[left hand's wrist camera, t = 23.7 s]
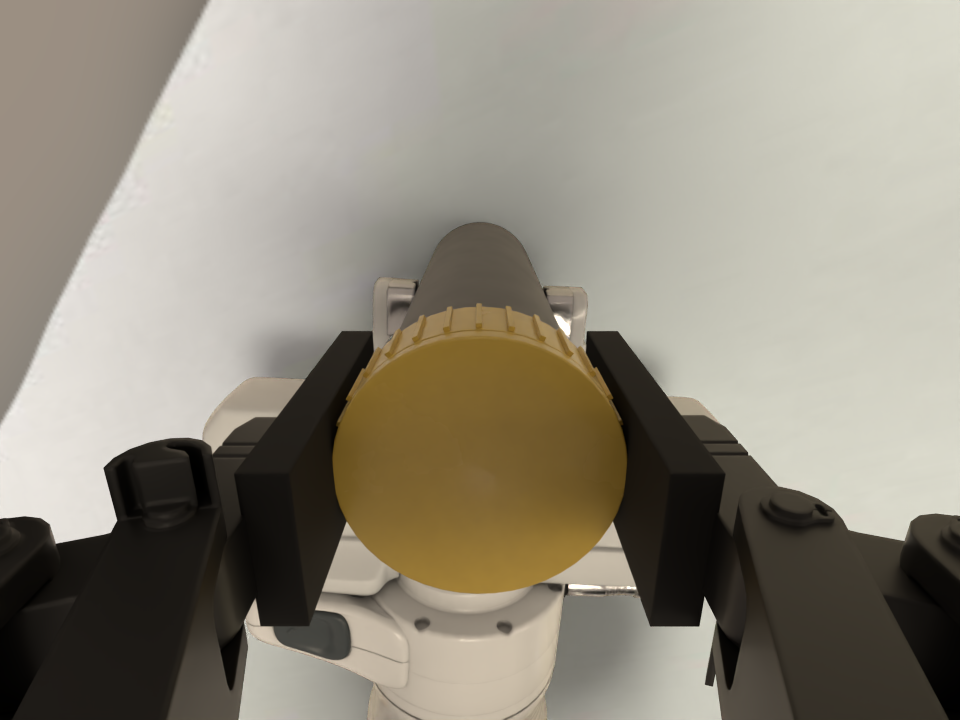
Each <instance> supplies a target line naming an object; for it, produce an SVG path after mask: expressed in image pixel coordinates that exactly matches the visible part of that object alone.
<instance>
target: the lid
mask: <svg viewBox="0 0 960 720" xmlns="http://www.w3.org/2000/svg"><path fill="white" fill-rule="evenodd" d="M611 399H613V397H612V395H611V393H610V391H609V389H608V387H607V385H606V384H605V382H604V380H603V378H602V376H601V374H600V372H599V371H598V369H597V367H595V368H593V366H592V364H591V362H590V360H589V358H588V356H587V354H586V353H585V351H584V349H583V348H582V347H581V346H579V347H578V348H577V347H576V346H575V345H574V344H573V343H572V342H571V341H570V340H569V339H568V338H567V337H566V335H565V333H564V331H563V330H562V329H561V328H559V329H558V330H556V329H554V328H553V327H551V326H550V325H548V324H546V323H544V322H542V321H540V318H539V316H538V315H536V314H534V315H533V317H531V316H528V315H525V314H523V313H520V312H516V311H512V309H511V307H510V306H506V307H505V309H502V308H493V307H482V303H477V304H476V307H464V308H458V309H453V307H452V306H450V307H447V310H446V311H444V312H440V313H437V314H434V315H431V316H428V317H425V315H422V316H420V317H419V319H418V321H417V322H415V323H413V324H412V325H410V326H409V327H407V328H406V329H404V330H402V331H401V330H400V329H397V330H396V331H395V333H394V335H393V337H392V339H391V340H390V341H389V342H387V343H386V345H385V346H384V347H383V348H382V349H381V348H379V347H377V349H376V350H375V351H374V353H373V355H372V357H371V359H370V361H369V363H368V365H367V367H366V369H363V368H362V370H361V372H360V374H359V376H358V378H357V379H356V381H355V383H354V385H353V387H352V389H351V391H350V392H349V394H348V396H347V398H346V400H347V401H348V402H347V404H346V406H345V408H344V409H343V411H342V413H341V415H340V417H339V419H338V421H337V424H336V426H337V427H338V429H337V433H336V436H335V439H334V446H333V452H332V462H333V473H334V483H335V492H336V496H337V499H338V503H339V506H340V508H341V510H342V512H343V515H344V517H345V519H346V521H347V523H348V524H349V526H350V527H351V529H352V530H353V532H354V533H355V535H356V536H357V537H358V539H359V540H360V541H361V542H362V543H363V544H364V546H365V547H366V548H367V549H368V550H369V551H370V552H371V553H373V554H374V555H375V556H376V557H377V558H378V559H379V560H380V561H382V562H383V563H385V564H386V565H387V566H389V567H390V568H392V569H393V570H395V571H397V572H398V573H400V574H402V575H404V576H406V577H408V578H410V579H412V580H415V581H417V582H419V583H422V584H424V585H427V586H431V587H434V588H438V589H441V590H447V591H452V592H458V593H471V594H489V593H500V592H507V591H514V590H518V589H522V588H526V587H529V586H532V585H535V584H538V583H540V582H543V581H546V580H548V579H550V578H552V577H554V576H556V575H558V574H560V573H562V572H563V571H565V570H566V569H568V568H569V567H571V566H572V565H574V564H575V563H577V562H578V561H579V560H580V559H581V558H583V557H584V556H585V555H586V554H587V553H589V552H590V550H591V549H592V548H593V547H594V546H595V545H596V544H597V543H598V542H599V541H600V540H601V538H602V537H603V536H604V534H605V533H606V531H607V530H608V529H609V527H610V526H611V524H612V522H613V520H614V518H615V516H616V514H617V512H618V510H619V507H620V504H621V502H622V499H623V496H624V488H625V480H626V469H627V446H626V441H625V438H624V434H623V430H622V427H621V425H623V422H622V419H621V417H620V415H619V413H618V411H617V409H616V408H615V406H614V404H613V402H612V400H611Z"/></svg>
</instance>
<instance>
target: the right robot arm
mask: <svg viewBox="0 0 960 720" xmlns="http://www.w3.org/2000/svg"><path fill="white" fill-rule="evenodd" d="M418 287H419V281H418V280H415V279H400V278H384V277H379V279H378V280H377V281H376V282H375V285H374V291H373V330H372V331H373V344H374V351H375V350H376V349H377V347H379V348H381V349H382V348H383V347H384V346H385V345H386V343H387V342H388V340H389V339H390V337H391V335H394V333H395V331H396V330H397V329H400V327H401V325H402V322H403V320H404V318H405V316H406V314H407V311H408V309H409V307H410V305H411V302H412V300H413V298H414V296H415V293H416V291H417V289H418ZM543 291H544V294H545V296H546V298H547V300H548V303H549V305H550V307H551V309H552V312H553V314H554V316H555V318H556V320H557V323H558V325H559V327H560V328H561V329H562V330H563V331H564V333H565V335H566V337H567V338H568V339H569V340H570V341H571V342H572V343H573V344H574V345H575V346H576V347H577V348H578V347H579V346H581V347H582V348H583V349H584V351H585V353H586V343H585V341H584V333H585V324H586V316H587V307H588V301H587V294H586V292H585V291H584V290H583V288H582V287H562V286H543ZM304 381H305V379H288V378H269V377H253V378H249V379H247V380H246V381H244V382H243V383H242V384H240V385H239V386H238V387H237V388H236V389H235V390H234V391H232V392H231V393H230V394H229V395H228V396H227V397H226V398H225V399H224V400H223V401H222V402H221V403H220V404H219V405H218V407H217V408H216V409H215V410H214V412H213V413H212V414H211V416H210V417H209V419H208V420H207V422H206V424H205V427H204V430H203V438H202V440H203V441H204V442H206V443H207V444H209V445H210V446H211V448H212V454H213V453H214V452H215V451H216V449H217V448H218V447H219V446H222V443H223V442H224V440H225V439H226V438H227V437H228V436H229V435H230V434H231V432H232V431H233V430H234V429H235V428H237V427H239V426H241V425H242V424H244V423H246V422H248V421H249V420H251V419H253V418H255V417H277V416H278V415H279V414H280V412H281V411H282V410H283V408H284V407H285V406H286V404H287V403H288V402H289V400H290V399H291V398H292V396H293V395H294V394H295V392H296V391H297V390H298V389H299V387H300V386H301V385H302V383H303V382H304ZM667 397H668V398H669V400H670V401H671V402H672V404H673V405H674V406H675V407H676V409H677V410H678V411H679V413H680V414H681V415H705V416H707V417H709V418H710V419H712V420H714V421H716V422H717V423H719V422H718V421H717V419H716V418H715V417H714V416H713V415H712V414H711V413H710V412H709V411H708V410H707V409H706V408H705V407H704V406H703V405H702V404H701V403H700V402H699V401H697V400H695V399H693V398H687V397H669V396H667ZM719 424H720V423H719ZM565 595H567V596H570V595H571V596H593V597H601V596H612V595H613V596H614V595H625V596H633V597H635V598H640V596H639V593H638V590H637V588H636V585H635V582H634V579H633V576H632V574H631V571H630V568H629V565H628V562H627V560H626V557H625V554H624V551H623V548H622V546H621V543H620V540H619V537H618V534H617V532H616V529H615V526H614V523H613V522H612V524H611V526H610V527H609V529H608V530H607V531H606V533H605V534H604V536H603V537H602V538H601V540H600V541H599V542H598V543H597V544H596V545H595V546H594V547H593V548H592V549H591V550H590V552H589V553H587V554H586V555H585V556H584V557H583V558H581V559H580V560H579V561H578V562H577V563H575V564H574V565H572V566H571V567H569V568H568V569H566V570H565V571H563V572H562V573H560V574H558V575H556V576H554V577H552V578H550V579H548V580H546V581H543V582H540V583H538V584H535V585H532V586H529V587H526V588H522V589H518V590H514V591H507V592H500V593H489V594H471V593H458V592H452V591H447V590H441V589H438V588H434V587H431V586H427V585H424V584H422V583H419V582H417V581H415V580H412V579H410V578H408V577H406V576H404V575H402V574H400V573H398V572H397V571H395V570H393V569H392V568H390V567H389V566H387V565H386V564H385V563H383V562H382V561H380V560H379V559H378V558H377V557H376V556H375V555H374V554H373V553H371V552H370V551H369V550H368V549H367V548H366V547H365V546H364V544H363V543H362V542H361V541H360V540H359V539H358V537H357V536H356V535H355V533H354V532H353V530H352V529H351V527H350V526H349V524H348V523H347V522H346V525H345V528H344V531H343V533H342V536H341V539H340V542H339V545H338V547H337V550H336V553H335V556H334V559H333V561H332V564H331V567H330V570H329V573H328V575H327V578H326V581H325V584H324V587H323V589H322V592H321V595H320V598H319V601H318V603H317V606H316V609H315V612H314V615H313V617H312V620H311V623H310V626H260V621H259V615H258V610H257V604H256V598H255V600H254V602H253V604H252V606H251V608H250V610H249V612H248V614H247V616H246V623H247V627H248V629H249V631H250V633H251V634H252V635H253V636H254V637H255V638H257V639H258V640H260V641H263V642H265V643H268V644H271V645H274V646H278V647H281V648H285V649H289V650H292V651H296V652H299V653H302V654H306V655H309V656H312V657H315V658H318V659H321V660H324V661H327V662H329V663H332V664H335V665H338V666H340V667H342V668H345V669H347V670H350V671H352V672H354V673H356V674H358V675H360V676H362V677H364V678H367V679H369V680H370V681H372V682H373V684H374V685H373V688H372V691H371V695H370V699H369V705H368V716H367V720H547V707H546V701H545V696H544V694H545V692H546V690H547V688H548V686H549V684H550V681H551V678H552V675H553V671H554V666H555V659H556V652H557V644H558V636H559V628H560V620H561V614H562V605H563V598H564V597H565Z"/></svg>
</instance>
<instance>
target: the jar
mask: <svg viewBox="0 0 960 720" xmlns="http://www.w3.org/2000/svg"><path fill="white" fill-rule="evenodd" d="M477 303H482V307H493V308H502V309H505V307H506V306H510V307H511V309H512V311H516V312H520V313H523V314H525V315H528V316H531V317H533V315H534V314H536V315H538V316H539V318H540V321H542V322H544V323H546V324H548V325H550V326H551V327H553V328H554V329H556V330H558V329H559V328H560V327H559V325H558V323H557V320H556V318H555V316H554V314H553V312H552V309H551V307H550V305H549V303H548V300H547V298H546V296H545V294H544V291H543V289H542V287H541V285H540V283H539V280H538V278H537V276H536V274H535V271H534V269H533V267H532V265H531V262H530V260H529V258H528V256H527V254H526V251H525V249H524V248H523V246H522V244H521V243H520V242H519V240H518V239H517V238H516V237H515V236H514V235H513V234H511V233H510V232H509V231H507V230H506V229H504V228H502V227H500V226H497V225H494V224H490V223H481V222H477V223H470V224H466V225H463V226H460V227H458V228H456V229H454V230H452V231H451V232H450V233H448V234H447V235H446V236H445V237H444V238H443V239H442V240H441V242H440V243H439V244H438V246H437V247H436V249H435V251H434V253H433V256H432V258H431V260H430V262H429V265H428V267H427V269H426V271H425V273H424V276H423V278H422V280H421V282H420V285H419V287H418V289H417V291H416V293H415V296H414V298H413V300H412V302H411V305H410V307H409V309H408V311H407V314H406V316H405V318H404V320H403V322H402V325H401V327H400V330H401V331H402V330H404V329H406V328H407V327H409V326H410V325H412V324H413V323H415V322H417V321H418V319H419V317H420V316H422V315H425V317H428V316H431V315H434V314H437V313H440V312H444V311H446V310H447V307H450V306H452V307H453V309H458V308H464V307H476V304H477Z"/></svg>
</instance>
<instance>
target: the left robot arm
mask: <svg viewBox="0 0 960 720" xmlns="http://www.w3.org/2000/svg"><path fill="white" fill-rule="evenodd" d="M373 353H374V344H373V331H342V332H341V333H340V334H339V336H338V337H337V338H336V340H335V341H334V342H333V344H332V345H331V346H330V348H329V349H328V350H327V352H326V353H325V354H324V356H323V357H322V358H321V360H320V361H319V362H318V363H317V365H316V366H315V367H314V369H313V370H312V371H311V373H310V374H309V375H308V377H307V378H306V379H305V381H304V382H303V383H302V385H301V386H300V387H299V389H298V390H297V391H296V392H295V394H294V395H293V396H292V398H291V399H290V400H289V402H288V403H287V404H286V406H285V407H284V408H283V410H282V411H281V412H280V414H279V415H278V416H277V417H255V418H253V419H251V420H249V421H248V422H246V423H244V424H242V425H241V426H239V427H237V428H235V429H234V430H233V431H232V432H231V434H230V435H229V436H228V437H227V438H226V439H225V440H224V442H223V443H222V446H219V447H218V448H217V449H216V451H215V452H214V453H213V454H212V448H211V446H210V445H209V444H207V443H206V442H204V441H203V440H197V439H192V438H170V439H165V440H159V441H154V442H149V443H146V444H143V445H141V446H138V447H135V448H132V449H129V450H128V451H126V452H124V453H122V454H120V455H118V456H117V457H115V458H113V459H112V460H111V461H110V462H109V463H108V464H107V465H106V466H105V467H104V472H105V476H106V479H107V483H108V487H109V491H110V495H111V498H112V502H113V506H114V510H115V513H116V517H117V522H116V524H115V526H114V528H113V530H112V532H111V533H109V534H105V535H100V536H95V537H89V538H84V539H79V540H74V541H68V542H63V543H58V544H56V543H55V540H54V537H53V534H52V530H51V527H50V524H48V523H47V522H45V521H44V520H43V519H41V518H34V517H26V516H24V517H15V518H2V519H0V720H238V718H239V711H240V703H241V696H242V688H243V681H244V673H245V665H246V658H247V650H248V644H247V637H246V631H245V625H244V620H245V618H246V616H247V614H248V612H249V610H250V608H251V606H252V604H253V602H254V600H255V598H256V604H257V610H258V615H259V621H260V626H310V623H311V620H312V617H313V615H314V612H315V609H316V606H317V603H318V601H319V598H320V595H321V592H322V589H323V587H324V584H325V581H326V578H327V575H328V573H329V570H330V567H331V564H332V561H333V559H334V556H335V553H336V550H337V547H338V545H339V542H340V539H341V536H342V533H343V531H344V528H345V525H346V522H347V521H346V519H345V517H344V515H343V512H342V510H341V508H340V506H339V503H338V499H337V496H336V492H335V483H334V473H333V462H332V452H333V446H334V439H335V436H336V433H337V429H338V427H337V426H336V424H337V421H338V419H339V417H340V415H341V413H342V411H343V409H344V408H345V406H346V404H347V402H348V401H347V400H346V398H347V396H348V394H349V392H350V391H351V389H352V387H353V385H354V383H355V381H356V379H357V378H358V376H359V374H360V372H361V370H362V368H363V369H366V367H367V365H368V363H369V361H370V359H371V357H372V355H373ZM586 354H587V356H588V358H589V360H590V362H591V364H592V366H593V368H595V367H597V369H598V371H599V372H600V374H601V376H602V378H603V380H604V382H605V384H606V385H607V387H608V389H609V391H610V393H611V395H612V397H613V399H611V400H612V402H613V404H614V406H615V408H616V409H617V411H618V413H619V415H620V417H621V419H622V422H623V425H621V427H622V430H623V434H624V438H625V441H626V446H627V469H626V480H625V488H624V496H623V499H622V502H621V504H620V507H619V510H618V512H617V514H616V516H615V518H614V520H613V523H614V526H615V529H616V532H617V534H618V537H619V540H620V543H621V546H622V548H623V551H624V554H625V557H626V560H627V562H628V565H629V568H630V571H631V574H632V576H633V579H634V582H635V585H636V588H637V590H638V593H639V596H640V599H641V602H642V604H643V607H644V610H645V613H646V616H647V618H648V621H649V624H650V626H699V625H700V619H701V613H702V608H703V602H704V596H705V598H706V600H707V602H708V604H709V606H710V608H711V610H712V612H713V614H714V616H715V618H716V625H715V631H714V636H713V642H712V647H711V652H710V658H709V663H708V668H707V674H706V681H705V685H709V686H713V683H714V678H715V674H716V679H717V687H718V694H719V702H720V709H721V717H722V720H960V516H956V515H954V516H951V515H943V514H928V515H920V516H918V517H917V518H915V519H914V520H912V521H911V523H910V526H909V529H908V532H907V535H906V538H905V541H900V540H895V539H890V538H884V537H879V536H874V535H868V534H863V533H858V532H854V531H850V530H848V529H847V527H846V525H845V523H844V521H843V520H842V518H841V517H840V516H839V515H838V514H837V513H836V511H835V510H834V509H833V508H831V507H830V506H828V505H827V504H825V503H824V502H822V501H820V500H819V499H817V498H815V497H812V496H810V495H807V494H805V493H802V492H800V491H796V490H792V489H787V488H783V487H778V486H777V485H776V484H775V482H774V481H773V480H772V479H771V478H770V477H769V476H768V475H767V473H766V472H765V471H764V470H763V469H762V468H761V467H760V466H759V464H758V463H757V462H756V461H755V460H754V459H753V458H752V456H748V452H747V451H746V450H745V449H744V447H743V446H742V445H741V444H738V441H737V440H736V438H735V437H734V436H733V435H732V434H731V433H730V432H729V430H728V429H727V428H726V427H724V426H723V425H721V424H719V423H717V422H716V421H714V420H712V419H710V418H709V417H707V416H705V415H681V414H680V413H679V411H678V410H677V409H676V407H675V406H674V405H673V404H672V402H671V401H670V400H669V398H668V397H667V396H666V394H665V393H664V392H663V390H662V389H661V388H660V386H659V385H658V384H657V382H656V381H655V380H654V378H653V377H652V376H651V375H650V373H649V372H648V371H647V369H646V368H645V367H644V365H643V364H642V363H641V361H640V360H639V359H638V357H637V356H636V355H635V353H634V352H633V351H632V349H631V348H630V347H629V346H628V344H627V343H626V342H625V340H624V339H623V338H622V336H621V335H620V334H619V332H618V331H587V339H586Z"/></svg>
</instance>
